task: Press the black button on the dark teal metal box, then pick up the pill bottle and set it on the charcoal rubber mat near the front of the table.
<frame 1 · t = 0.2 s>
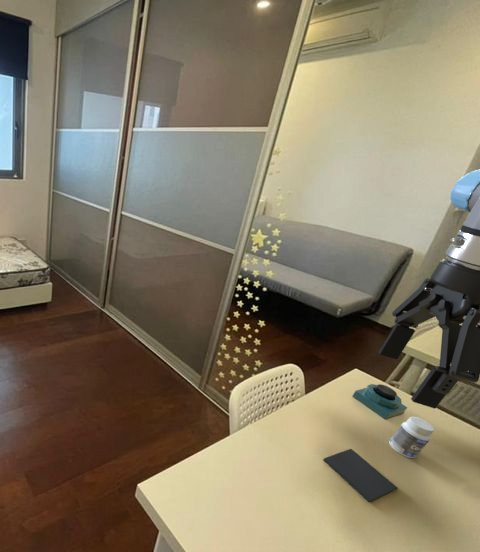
hand: (403, 377, 56), 26 cm above the table, tool pointing down, fingers open, 13 cm apart
button box: (376, 404, 86), on the table
mat: (358, 474, 66), on the table
button: (385, 392, 84), point 4 cm above the table, slide at 0.1 cm
pill bottle: (401, 450, 73), on the table
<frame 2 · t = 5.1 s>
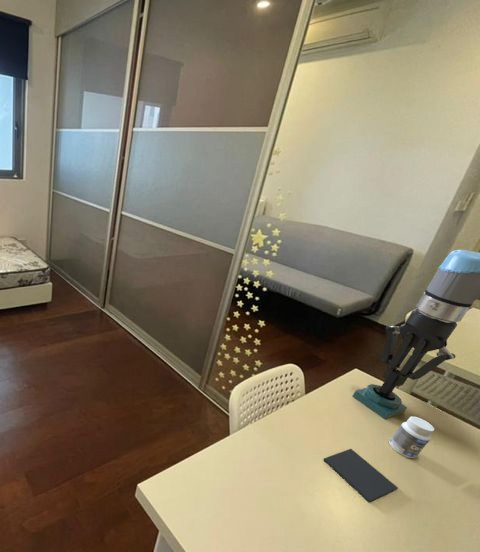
hand: (385, 391, 84), 5 cm above the table, tool pointing down, fingers closed
button: (383, 394, 84), point 4 cm above the table, slide at -0.8 cm, touching gripper
everything else where it was.
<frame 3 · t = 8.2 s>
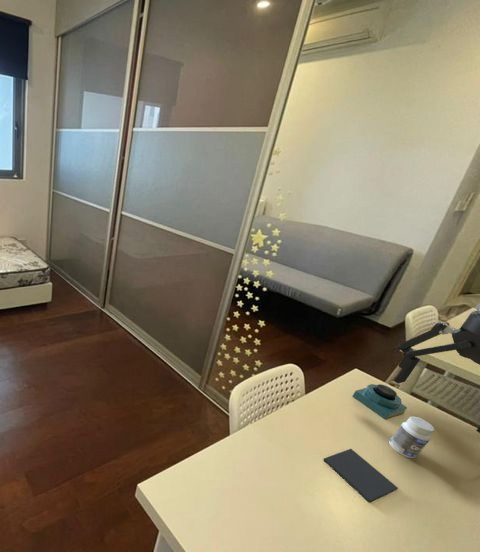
hand: (437, 404, 68), 14 cm above the table, tool pointing down, fingers open, 13 cm apart
button: (385, 392, 84), point 4 cm above the table, slide at 0.1 cm
everything else where it was.
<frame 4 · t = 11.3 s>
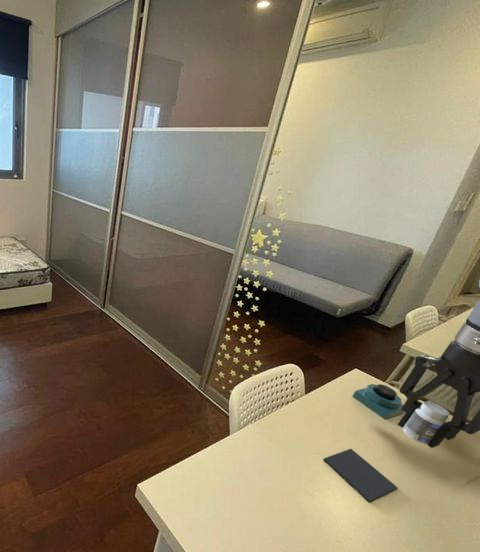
hand: (417, 434, 71), 5 cm above the table, tool pointing down, fingers closed on pill bottle, 5 cm apart
pill bottle: (415, 436, 71), point 5 cm above the table, touching gripper
everything else where it was.
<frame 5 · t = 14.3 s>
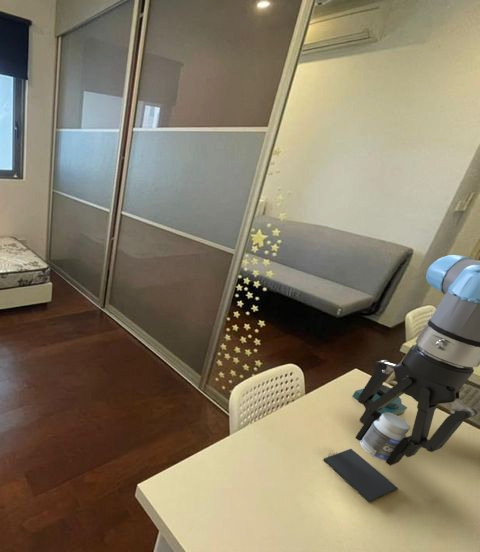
hand: (376, 449, 63), 8 cm above the table, tool pointing down, fingers closed on pill bottle, 5 cm apart
pill bottle: (374, 451, 63), point 7 cm above the table, touching gripper
everything else where it was.
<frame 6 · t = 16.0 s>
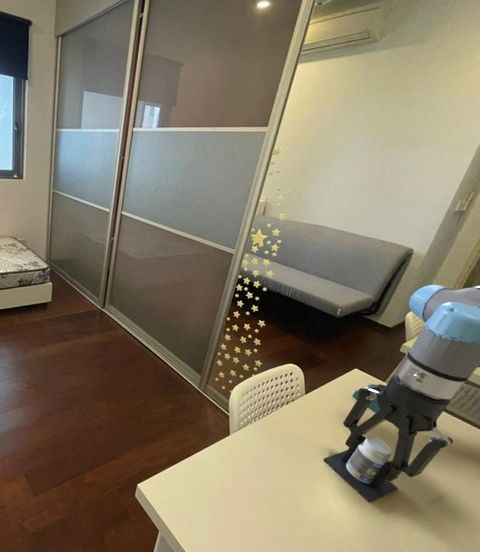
hand: (361, 471, 66), 1 cm above the table, tool pointing down, fingers closed on pill bottle, 5 cm apart
pill bottle: (359, 473, 66), resting on mat, touching gripper
everything else where it was.
when the fingers open (1 cm above the table, at t = 17.5 s): pill bottle stays where it is, resting on mat.
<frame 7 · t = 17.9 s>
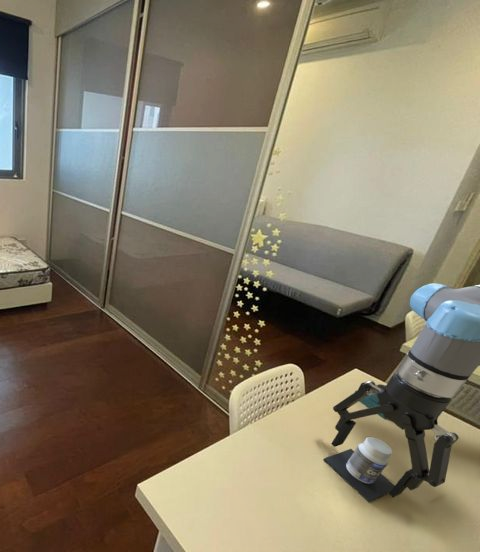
hand: (363, 467, 65), 2 cm above the table, tool pointing down, fingers open, 10 cm apart
pill bottle: (359, 473, 66), resting on mat
everything else where it was.
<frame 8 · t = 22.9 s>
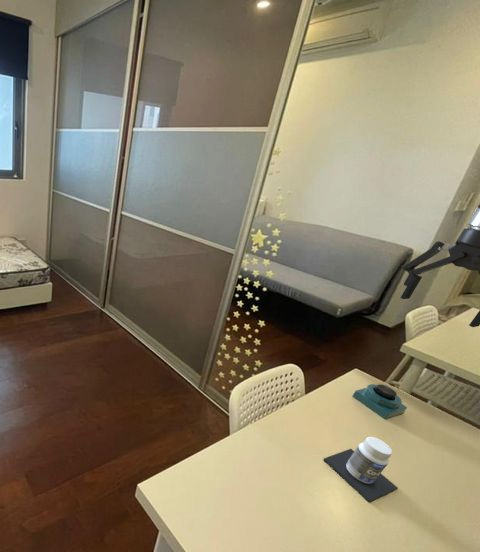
hand: (436, 311, 81), 27 cm above the table, tool pointing down, fingers open, 13 cm apart
nothing on the table moved.
at the end: button pushed in 1.0 cm at the most during the clip, back to where it started at the end; pill bottle inside the target area on the mat (0.2 cm from its centre), point 0.3 cm above the mat's base; pill bottle tilted 0° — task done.
